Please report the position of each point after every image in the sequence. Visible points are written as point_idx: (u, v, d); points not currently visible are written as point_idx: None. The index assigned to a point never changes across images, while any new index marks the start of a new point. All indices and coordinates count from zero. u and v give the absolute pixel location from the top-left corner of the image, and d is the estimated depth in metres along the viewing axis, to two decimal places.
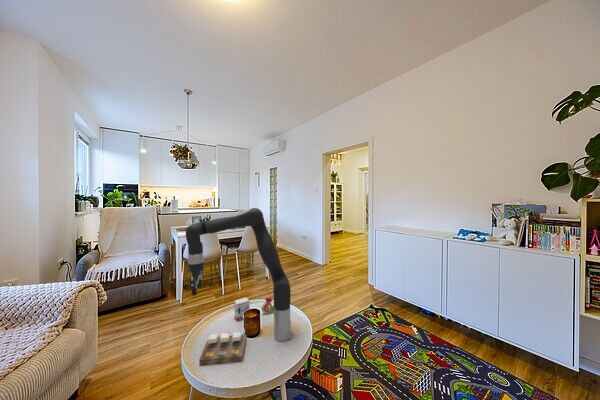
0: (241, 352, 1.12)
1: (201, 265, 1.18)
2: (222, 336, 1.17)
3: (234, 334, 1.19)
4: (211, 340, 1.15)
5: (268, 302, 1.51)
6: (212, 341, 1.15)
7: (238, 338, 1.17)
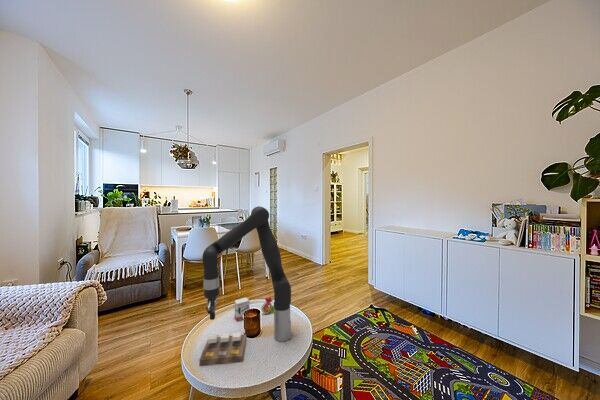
0: (241, 352, 1.12)
1: (217, 290, 1.14)
2: (222, 336, 1.17)
3: (234, 334, 1.19)
4: (211, 340, 1.15)
5: (268, 302, 1.51)
6: (212, 341, 1.15)
7: (238, 338, 1.17)
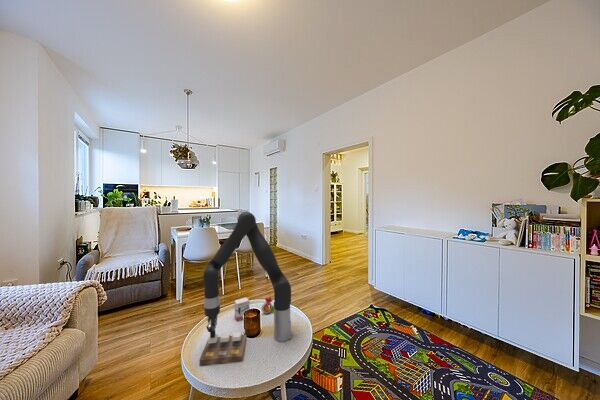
0: (241, 352, 1.12)
1: (217, 309, 1.15)
2: (222, 336, 1.17)
3: (234, 334, 1.19)
4: (211, 340, 1.15)
5: (268, 302, 1.51)
6: (212, 342, 1.15)
7: (238, 338, 1.17)
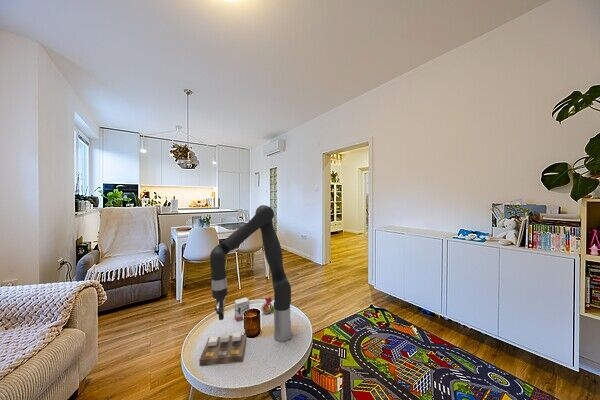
0: (241, 352, 1.12)
1: (225, 291, 1.15)
2: (222, 336, 1.17)
3: (234, 334, 1.19)
4: (211, 343, 1.15)
5: (268, 302, 1.51)
6: (212, 344, 1.15)
7: (238, 338, 1.17)
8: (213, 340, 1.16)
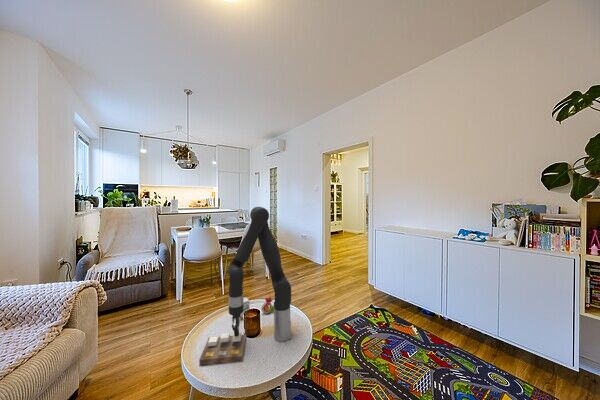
0: (241, 352, 1.12)
1: (242, 307, 1.16)
2: (222, 336, 1.17)
3: None
4: (211, 343, 1.15)
5: (268, 302, 1.51)
6: (212, 344, 1.15)
7: (238, 339, 1.17)
8: (213, 340, 1.16)
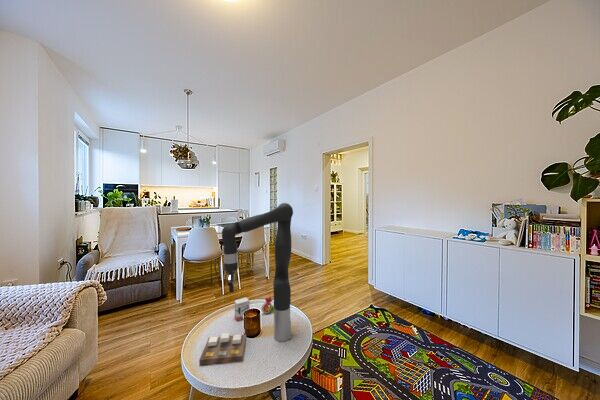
0: (241, 352, 1.12)
1: (236, 264, 1.23)
2: (222, 336, 1.17)
3: (234, 337, 1.19)
4: (211, 343, 1.15)
5: (268, 302, 1.51)
6: (212, 344, 1.15)
7: (238, 341, 1.17)
8: (213, 340, 1.16)
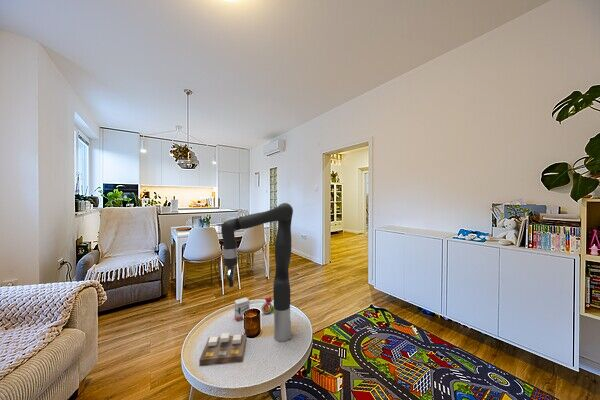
0: (241, 352, 1.12)
1: (236, 259, 1.25)
2: (222, 336, 1.17)
3: (234, 337, 1.19)
4: (211, 343, 1.15)
5: (268, 302, 1.51)
6: (212, 344, 1.15)
7: (238, 341, 1.17)
8: (213, 340, 1.16)
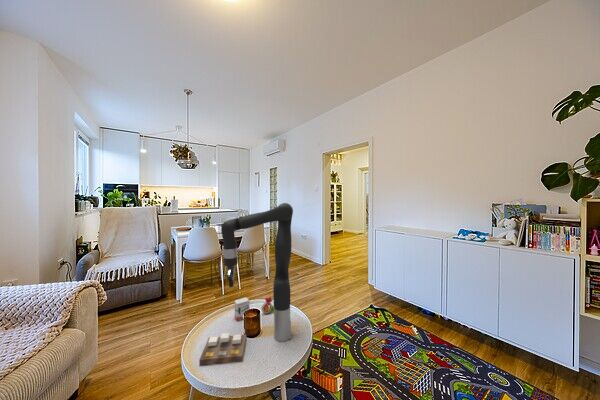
0: (241, 352, 1.12)
1: (236, 259, 1.25)
2: (222, 336, 1.17)
3: (234, 337, 1.19)
4: (211, 343, 1.15)
5: (268, 302, 1.51)
6: (212, 344, 1.15)
7: (238, 341, 1.17)
8: (213, 340, 1.16)
